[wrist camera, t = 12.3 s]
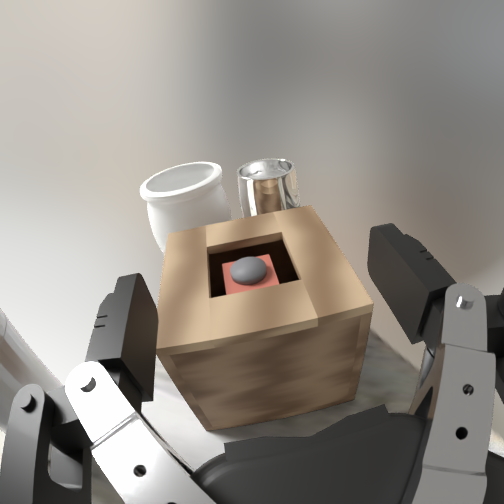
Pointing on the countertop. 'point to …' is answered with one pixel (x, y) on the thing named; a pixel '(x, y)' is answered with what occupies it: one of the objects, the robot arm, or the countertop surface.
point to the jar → (185, 199)
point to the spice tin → (249, 274)
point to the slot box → (261, 320)
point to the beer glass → (267, 186)
